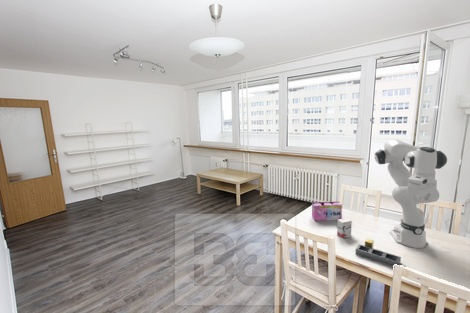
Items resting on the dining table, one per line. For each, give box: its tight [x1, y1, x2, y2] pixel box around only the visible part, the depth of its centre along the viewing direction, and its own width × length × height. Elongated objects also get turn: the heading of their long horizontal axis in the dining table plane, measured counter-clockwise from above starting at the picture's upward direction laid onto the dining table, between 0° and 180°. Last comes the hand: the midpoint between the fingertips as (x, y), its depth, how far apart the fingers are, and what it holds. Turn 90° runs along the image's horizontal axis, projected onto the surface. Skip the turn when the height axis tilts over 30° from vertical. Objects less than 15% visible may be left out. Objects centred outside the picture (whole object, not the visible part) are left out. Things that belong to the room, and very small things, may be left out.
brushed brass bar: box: [364, 238, 375, 249], centre depth 143 cm, size 4×4×6 cm
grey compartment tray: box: [355, 243, 402, 267], centre depth 134 cm, size 22×7×4 cm, turn 46°
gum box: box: [311, 201, 343, 221], centre depth 189 cm, size 24×8×14 cm, turn 88°
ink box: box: [336, 217, 353, 238], centre depth 161 cm, size 9×5×12 cm, turn 106°
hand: (421, 201), depth 121 cm, fingers open, 8 cm apart
